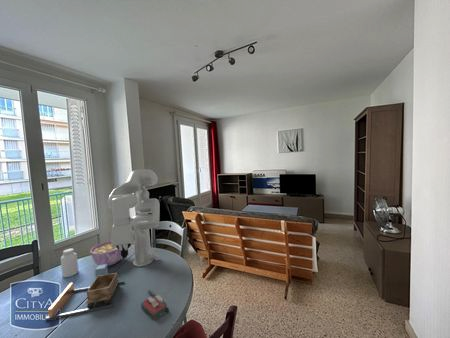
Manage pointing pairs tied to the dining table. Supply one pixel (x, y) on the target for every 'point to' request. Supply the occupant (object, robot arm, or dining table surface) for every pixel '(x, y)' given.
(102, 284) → the small wooden crate
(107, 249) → the bowl of food
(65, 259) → the pill bottle
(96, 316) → the dining table surface
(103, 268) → the block
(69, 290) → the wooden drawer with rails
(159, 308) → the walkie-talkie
